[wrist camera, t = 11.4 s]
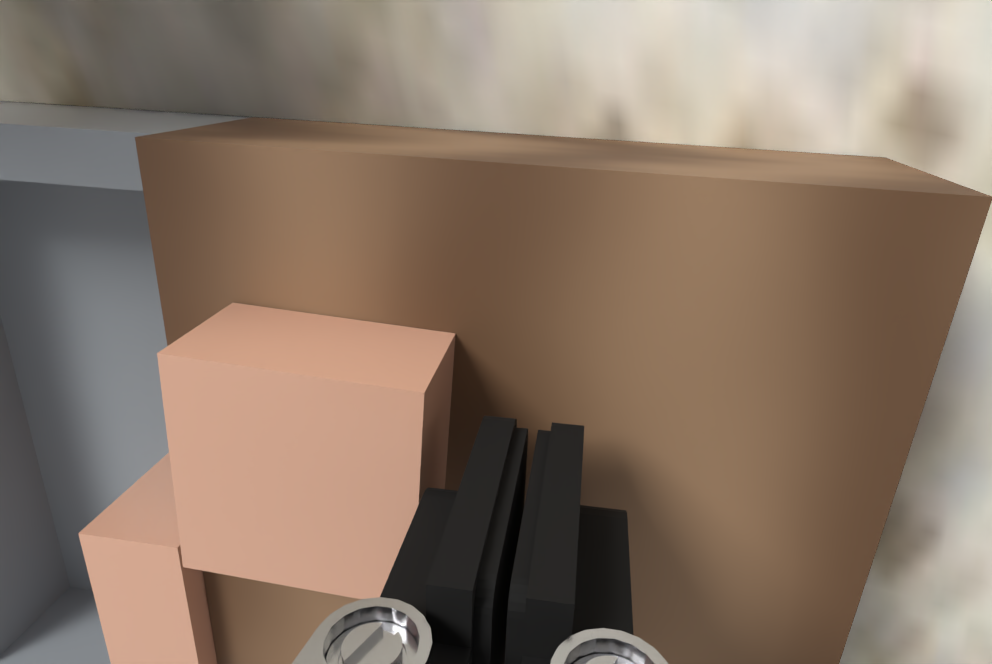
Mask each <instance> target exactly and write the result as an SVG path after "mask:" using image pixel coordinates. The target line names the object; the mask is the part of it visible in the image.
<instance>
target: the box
mask: <svg viewBox="0 0 992 664" xmlns="http://www.w3.org/2000/svg"><path fill="white" fill-rule="evenodd" d="M246 118H251V117H243V116H227V115H212V114H196V113H181V112H165V111H150V110H134V109H118V108H103V107H87V106H72V105H56V104H40V103H25V102H9V101H0V664H111V662H110V658H109V654H108V650H107V646H106V642H105V638H104V634H103V630H102V626H101V622H100V618H99V614H98V610H97V606H96V602H95V598H94V594H93V590H92V586H91V582H90V578H89V574H88V570H87V566H86V562H85V558H84V554H83V550H82V546H81V542H80V538H79V534H78V533H79V532H80V531H81V530H83V529H84V528H85V527H86V526H87V525H88V524H89V523H90V522H92V521H93V520H94V519H95V518H96V517H97V516H98V515H99V514H100V513H102V512H103V511H104V510H105V509H106V508H107V507H108V506H109V505H111V504H112V503H113V502H114V501H115V500H116V499H117V498H118V497H119V496H121V495H122V494H123V493H124V492H125V491H126V490H127V489H128V488H130V487H131V486H132V485H133V484H134V483H135V482H136V481H137V480H138V479H140V478H141V477H142V476H143V475H144V474H145V473H146V472H147V471H149V470H150V469H151V468H152V467H153V466H154V465H155V464H156V463H157V462H159V461H160V460H161V459H162V458H163V457H164V456H165V455H166V454H168V453H169V448H168V440H167V432H166V423H165V415H164V407H163V399H162V390H161V382H160V374H159V366H158V357H157V353H158V352H160V351H161V350H163V349H164V348H166V347H167V340H166V333H165V327H164V321H163V314H162V308H161V302H160V295H159V289H158V283H157V276H156V270H155V263H154V257H153V251H152V244H151V238H150V232H149V225H148V219H147V212H146V206H145V200H144V193H143V187H142V181H141V174H140V168H139V162H138V155H137V149H136V142H135V137H138V136H144V135H150V134H156V133H162V132H168V131H174V130H180V129H186V128H192V127H198V126H204V125H210V124H216V123H222V122H228V121H234V120H240V119H246Z"/></svg>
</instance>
